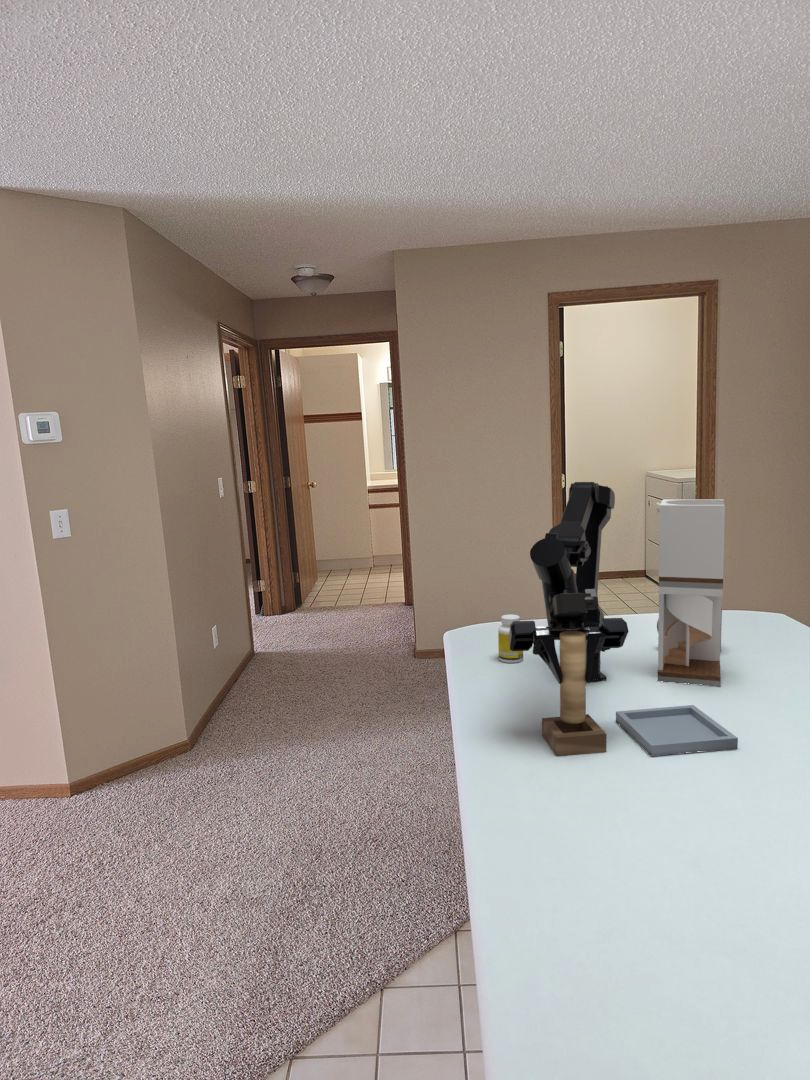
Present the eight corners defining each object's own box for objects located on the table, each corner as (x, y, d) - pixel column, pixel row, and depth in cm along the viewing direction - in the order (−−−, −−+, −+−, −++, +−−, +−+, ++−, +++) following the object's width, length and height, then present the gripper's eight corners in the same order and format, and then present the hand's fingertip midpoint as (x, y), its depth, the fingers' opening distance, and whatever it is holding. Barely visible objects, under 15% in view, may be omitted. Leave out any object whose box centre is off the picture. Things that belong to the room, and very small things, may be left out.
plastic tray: (615, 721, 127) (615, 711, 127) (693, 714, 128) (693, 705, 128) (651, 756, 113) (651, 745, 113) (737, 748, 114) (737, 738, 114)
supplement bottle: (522, 663, 159) (522, 620, 158) (497, 663, 160) (496, 619, 159) (524, 656, 164) (523, 613, 163) (499, 655, 165) (498, 613, 164)
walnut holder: (541, 735, 122) (541, 718, 122) (588, 731, 123) (588, 714, 123) (556, 756, 115) (556, 737, 114) (606, 751, 115) (606, 733, 115)
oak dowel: (557, 714, 120) (556, 631, 118) (580, 712, 120) (580, 630, 118) (564, 724, 116) (564, 638, 114) (589, 722, 117) (589, 636, 114)
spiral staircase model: (657, 681, 145) (659, 505, 140) (660, 664, 155) (662, 499, 150) (720, 687, 141) (724, 505, 136) (719, 669, 151) (723, 499, 145)
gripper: (509, 573, 119) (518, 660, 110) (625, 569, 118) (645, 656, 109) (505, 608, 128) (513, 692, 119) (613, 605, 127) (630, 688, 118)
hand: (574, 682), depth 116 cm, fingers closed on oak dowel, 4 cm apart
